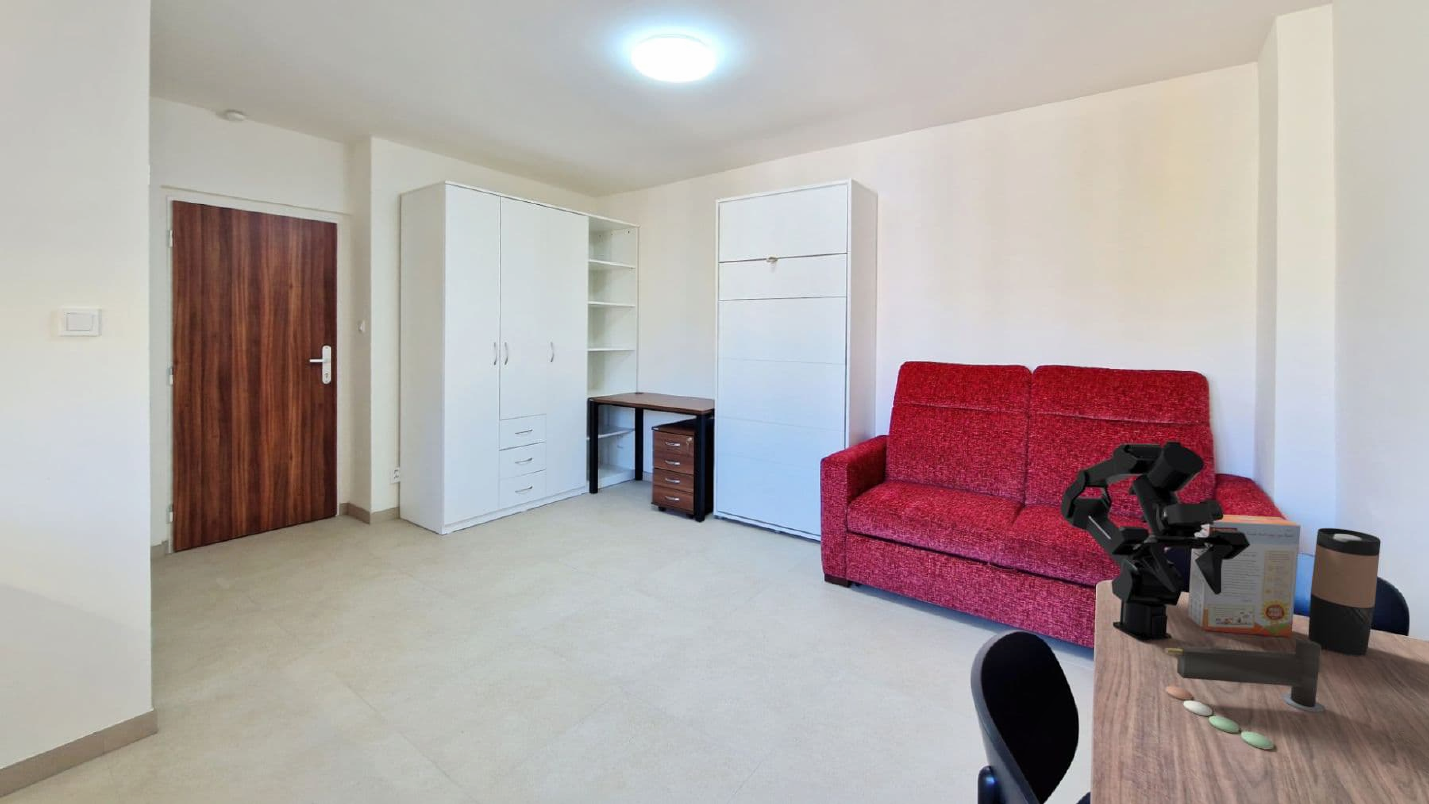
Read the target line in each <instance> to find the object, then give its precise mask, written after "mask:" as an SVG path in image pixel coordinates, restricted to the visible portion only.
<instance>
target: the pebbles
mask: <svg viewBox="0 0 1429 804" xmlns="http://www.w3.org/2000/svg"><path fill="white" fill-rule="evenodd" d="M1164 691H1165V692H1166V694H1168V696H1171V697H1173V698H1175V699H1178V700H1180V701H1181V700H1182V701H1183V707H1184V708H1185V710H1187V711H1189V712H1190V713H1193V714H1195V715H1198V716H1202V717H1203V716H1204V717H1209V718H1208V722H1209V725H1211V726H1213V727H1214V728H1216V729H1218V730H1221V731H1223V732H1226V733H1232V734H1235V733H1238V732H1239V731H1240V726H1239V724H1237V723H1236V722H1234V721H1233V720H1231V719H1229V718H1226V717H1223V716H1219V715H1212V714H1213V710H1212V709H1211V707H1209V706H1207V705H1206V704H1205V703H1201V702H1199V701H1196V700H1192V699H1193V694H1192V693H1191V692H1190V691H1189V690H1187V689H1184V688H1182V687H1178V686H1175V685H1174V686H1173V685H1168V686H1166V687H1165V690H1164ZM1290 697H1291V692H1288V693H1287V692H1286V693H1283V694H1282V695H1281V698H1282V701H1284V703H1286V704H1288V705H1290V706H1291V707H1293V708H1295V709H1298V710H1301V711H1304V712H1307V713H1314V714H1315V713H1316V714H1317V713H1319V714H1320V713H1323V712H1324V711H1325V707H1324V706H1323V704H1321V703H1320V702H1318V701H1317V700H1316V702H1315V706H1314V707H1307V706H1303V705H1300V704H1297V703H1295V702H1294V701H1292V700H1291V698H1290ZM1211 715H1212V716H1211ZM1240 738H1241V739H1242V740H1243V742H1245V743H1246V744H1248V745H1250V746H1252V747H1254V748H1257V749H1260V748H1266V749H1267V748H1272V749H1274V742H1273V741H1272V740H1271V739H1270V738H1268V737H1266V736H1264V735H1262V734H1259V733H1256V732H1252V731H1242V732H1241V734H1240Z"/></svg>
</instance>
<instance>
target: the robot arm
mask: <svg viewBox="0 0 1429 804" xmlns="http://www.w3.org/2000/svg"><path fill="white" fill-rule="evenodd" d="M1204 466H1205V463H1204V459H1203V458H1202V456H1200V455H1198V453H1196V452H1195V451H1193V450H1192V449H1190V448H1189V447H1186V446H1183V445H1182V443H1181V441H1178V440H1177V441H1173V440H1172V441H1171V440H1168V441H1166V443H1164V445H1163V446H1162V445H1161V444H1160V443H1129V442H1128V443H1127V442H1126V443H1120V444H1119V445H1118V446H1117V447H1116V448H1114V449H1113V451H1112V457H1109V458H1108V459H1106V460H1103V461H1100V462H1098V463H1096V464H1094V465H1092V466H1091V465H1090V466H1089V467H1087V468H1083V469H1079V470H1078V473H1077V474H1076V479H1075V481H1073V482H1072V483H1071V484H1070V485H1069V486H1068V487H1067V488H1066V489H1065V490H1064V493H1063V497H1062V500H1061V503H1060V513H1061V514H1060V515H1061V516H1062V518H1063V519H1064V520H1065V521H1066V522H1067V523H1068V524H1069V525H1070V526H1072V527H1073V528H1077V529H1079V530H1082V531H1085V532H1087V533H1088V534H1089V536H1091V537H1092V539H1093V540H1095V542H1096V543H1097V544H1098V545H1099V546H1100V547H1101V548H1102V549H1103V551H1104V552H1106V554H1107V555H1108V556H1109V557H1110V559H1112V560H1113V562H1114V563H1115V564H1117V565H1116V566H1118V567H1119V568H1120V573H1118V575H1117V576H1116V577H1115V578H1114V579H1112V580H1111V590H1112V591H1111V592H1112V594H1113V595H1115V596H1116V598H1118V599H1119V600H1120V601H1121V603H1120V614H1119V621H1113V622H1112V626H1113V627H1115V628H1117V629H1119V628H1120V629H1121V631H1122V630H1123V633H1126V632H1127V633H1126V634H1128V635H1130V636H1131V637H1133V638H1135V639H1137V640H1139V641H1141V642H1149V641H1159V640H1165V639H1172V636H1173V635H1172V634H1171V633H1169V632H1167V631H1168V630H1167V628H1168V615H1167V606H1174V607H1175V606H1177V605H1178V602H1179V600H1180V598H1181V595H1182V592H1183V589H1184V586H1185V585H1184V580H1183V577H1182V575H1181V574H1180V573H1179V571H1178V570H1177V569H1176V567H1174V566H1175V562H1172V561H1170V560H1169V559H1168V558H1167V557H1166V554H1165V553H1166V551H1165V549H1166V548H1167V549H1191V550H1192V549H1196V550H1197V552H1198V554H1199V557H1198V558H1197V559H1196V560H1195V562H1196V564H1197V565H1198V567H1199V569H1200V571H1201V572H1202V574H1203V576H1204V578H1205V580H1206V581H1207V583H1208V585H1209V587H1210V588H1211V589H1212V591H1213V592H1214V593H1215V594H1216V595H1218V594H1220V593H1221V566H1222V560H1229V559H1233V558H1234V557H1235V556H1237V555H1238V554H1239V553H1241V552H1242V551H1243V550H1245V549H1246V548H1247V547H1249V546H1250V543H1249V541H1248V539H1247V537H1246V535H1245V534H1244V533H1242V532H1240V531H1238V530H1214V531H1213V532H1212V533H1211V534H1210V535H1208V536H1207V537H1195V533H1199V532H1200V531H1201V530H1202V527H1201V525H1206V524H1209V525H1212V524H1214V522H1213V521H1217V520H1222V519H1223V516H1224V515H1225V514H1224V512H1223V508H1222V506H1221V505H1220V503H1219V501H1218V500H1216V499H1205V500H1201V501H1199V503H1198V502H1197V503H1195V502H1194V503H1193V502H1192V503H1191V502H1181V501H1180V498H1179V495H1178V494H1177V492H1179V491H1183V490H1184V489H1185V488H1186V487H1187V486H1188V485H1189V484H1190V483H1191V482H1192V481H1193V480H1194V479H1195V478H1196V477H1197V476H1198V475H1199V474H1200V473H1201V472H1202V471H1203V469H1204V468H1205V467H1204ZM1134 476H1136V478H1135V479H1134V480H1132V483H1131V486H1129V488H1128V495H1130V496H1135V497H1136V499H1137V501H1138V504H1139V508H1141V509H1140V510H1141V511H1142V516H1140V521H1141V524H1147V527H1148V528H1146V527H1144V526H1129V525H1127V526H1126V525H1125V526H1123V525H1121V526H1120V527H1119V526H1117V524H1115V523H1114V521H1112V520H1111V519H1110V513H1111V508H1112V505H1113V500H1112V498H1111V496H1110V493H1109V490H1108V489H1109V486H1110V485H1111V484H1115V483H1117V482H1120V481H1122V480H1125V479H1128V478H1131V477H1134ZM1086 488H1090V489H1091V488H1093V489H1094V488H1095V489H1096V488H1097V489H1100V491H1101V496H1100V497H1081V494H1083V493H1084V492H1085V491H1086ZM1148 529H1149V530H1148ZM1120 629H1119V630H1120Z"/></svg>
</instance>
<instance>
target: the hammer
mask: <svg viewBox="0 0 1429 804" xmlns="http://www.w3.org/2000/svg"><path fill="white" fill-rule="evenodd" d="M1164 652H1165V653H1166V654H1169V655H1177V664H1176V665H1177V667H1176V673H1177V674H1178V675H1179V676H1180V677H1182V678H1183V679H1190V680H1192V679H1193V680H1206V681H1218V682H1230V683H1245V684H1246V683H1248V684H1257V685H1259V684H1260V685H1272V686H1273V685H1274V686H1284V687H1285V686H1286V687H1291V688H1290V689H1291V690H1290V693H1291V697H1290V698H1291V700H1292V701H1294V702H1295V703H1297V704H1300V705H1303V706H1307V707H1314V706H1315V702H1316V701H1317V691H1318V683H1319V673H1320V663H1321V653H1322V648H1321V645H1320V644H1318V643H1316V642H1313V641H1310V640H1309V639H1306V638H1297V639H1295V648H1294V653H1291V652H1276V651H1272V652H1271V651H1260V650H1259V651H1258V650H1257V651H1256V650H1248V649H1247V650H1245V649H1230V648H1228V649H1227V648H1215V647H1201V646H1200V647H1198V646H1187V645H1186V646H1185V645H1184V646H1181V645H1178V648H1175V647H1174V648H1172V647H1165V650H1164Z"/></svg>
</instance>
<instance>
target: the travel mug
mask: <svg viewBox="0 0 1429 804" xmlns="http://www.w3.org/2000/svg"><path fill="white" fill-rule="evenodd" d="M1316 533H1317V534H1316V542H1315V543H1316V544H1315V552H1314V561H1313V570H1312V576H1311V578H1312V579H1311V587H1310V598H1309V616H1308V617H1309V618H1308V640H1310V641H1313V642H1316V643H1318V644H1320V645H1321V649H1324V650H1327V651H1329V652H1332V651H1333V653H1336V652H1337V653H1336V654H1340V653H1341V655H1345V656H1351V655H1353V656H1354V657H1362V655H1363V656H1365V655H1367V652H1368V648H1369V642H1370V634H1371V629H1372V624H1373V617H1374V612H1375V611H1374V610H1375V603H1376V593H1377V584H1378V583H1377V582H1378V575H1379V574H1378V573H1379V564H1380V563H1379V562H1380V560H1379V559H1380V553H1381V539H1380V538H1379V537H1378V536H1375V535H1372V534H1370V533H1366V532H1361V531H1355V530H1349V529H1344V528H1333V527H1323V528H1318V530H1317V532H1316Z"/></svg>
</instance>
